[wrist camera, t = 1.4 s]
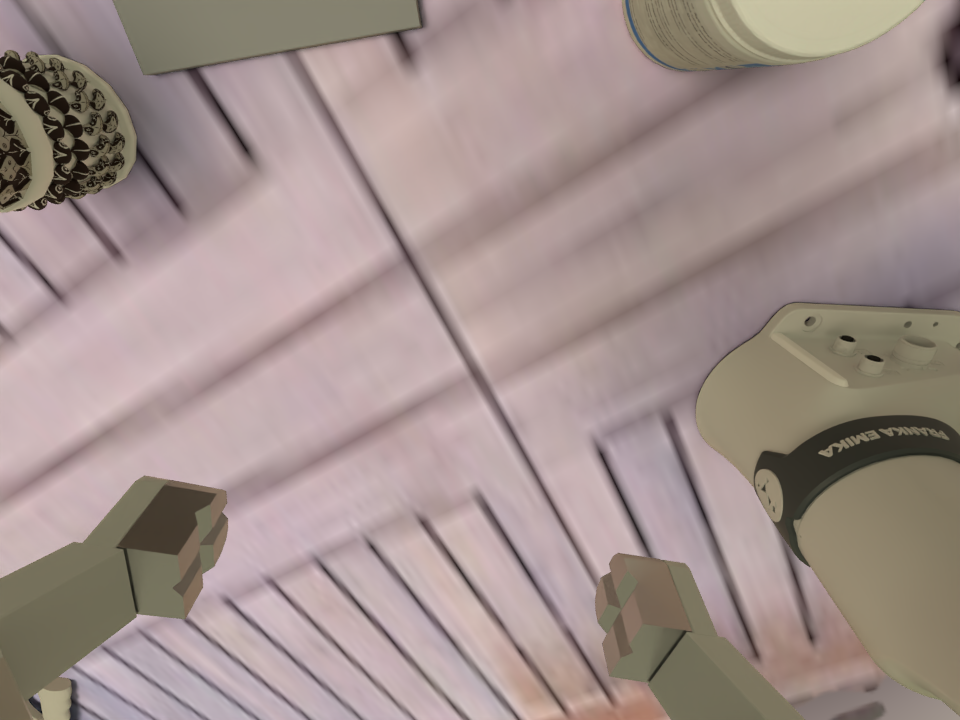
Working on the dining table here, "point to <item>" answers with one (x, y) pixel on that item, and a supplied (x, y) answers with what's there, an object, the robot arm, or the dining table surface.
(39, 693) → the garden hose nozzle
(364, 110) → the dining table surface
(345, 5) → the grey square panel
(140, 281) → the dining table surface
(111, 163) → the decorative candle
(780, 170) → the dining table surface
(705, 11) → the supplement tub
